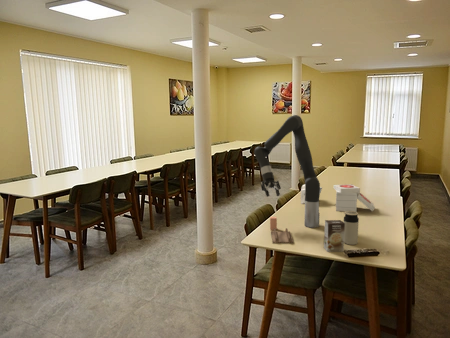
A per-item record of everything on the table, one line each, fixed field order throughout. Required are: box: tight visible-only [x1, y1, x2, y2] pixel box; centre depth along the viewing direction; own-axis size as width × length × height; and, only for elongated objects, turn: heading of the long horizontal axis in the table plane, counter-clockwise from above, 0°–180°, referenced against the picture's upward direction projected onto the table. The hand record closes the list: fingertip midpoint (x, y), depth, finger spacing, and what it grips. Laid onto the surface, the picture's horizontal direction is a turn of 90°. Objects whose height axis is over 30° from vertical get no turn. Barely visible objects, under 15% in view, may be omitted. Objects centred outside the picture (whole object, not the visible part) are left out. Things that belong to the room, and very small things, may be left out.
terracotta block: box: [269, 216, 278, 231], centre depth 227 cm, size 4×4×8 cm
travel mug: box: [343, 211, 360, 246], centre depth 200 cm, size 8×8×18 cm
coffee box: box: [323, 219, 345, 253], centre depth 190 cm, size 9×6×16 cm
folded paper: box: [300, 183, 323, 205], centre depth 296 cm, size 17×24×17 cm
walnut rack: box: [270, 228, 294, 244], centre depth 211 cm, size 12×18×3 cm, turn 176°
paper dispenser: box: [333, 184, 376, 213], centre depth 269 cm, size 19×30×18 cm, turn 73°
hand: (273, 196), depth 230 cm, fingers open, 8 cm apart
